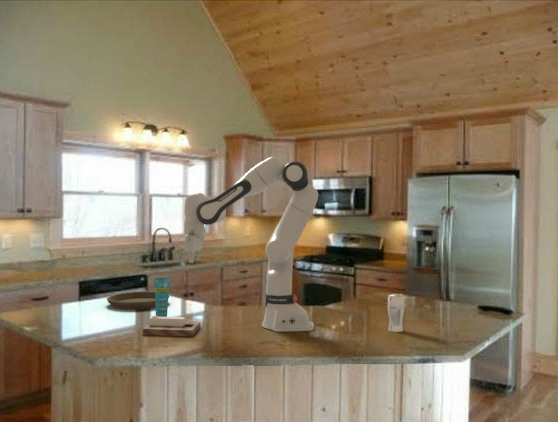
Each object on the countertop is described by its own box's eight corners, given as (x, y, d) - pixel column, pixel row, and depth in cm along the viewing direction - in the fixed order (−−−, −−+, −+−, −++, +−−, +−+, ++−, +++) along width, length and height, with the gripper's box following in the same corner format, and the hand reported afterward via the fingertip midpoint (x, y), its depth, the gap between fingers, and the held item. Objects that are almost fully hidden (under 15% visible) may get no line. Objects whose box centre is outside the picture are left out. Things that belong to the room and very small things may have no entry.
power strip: (185, 329, 196) (185, 316, 196) (183, 331, 193) (183, 318, 193) (151, 328, 197) (152, 315, 197) (149, 330, 194) (149, 317, 194)
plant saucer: (97, 303, 247) (97, 295, 247) (151, 296, 268) (151, 288, 268) (123, 314, 225) (123, 304, 224) (180, 305, 246) (180, 297, 246)
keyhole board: (200, 327, 201) (200, 321, 201) (192, 336, 188) (192, 330, 187) (153, 326, 203) (153, 320, 203) (142, 334, 189) (142, 328, 189)
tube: (155, 322, 210) (155, 278, 209) (151, 319, 214) (152, 277, 213) (171, 320, 214) (172, 277, 214) (167, 317, 218) (168, 276, 218)
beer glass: (394, 333, 197) (395, 297, 197) (383, 329, 203) (384, 294, 203) (407, 331, 200) (408, 296, 200) (396, 327, 207) (396, 293, 207)
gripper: (196, 231, 199) (195, 264, 199) (206, 229, 219) (205, 259, 219) (181, 231, 199) (180, 263, 199) (192, 228, 220) (192, 258, 220)
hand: (193, 261), depth 210 cm, fingers open, 8 cm apart
